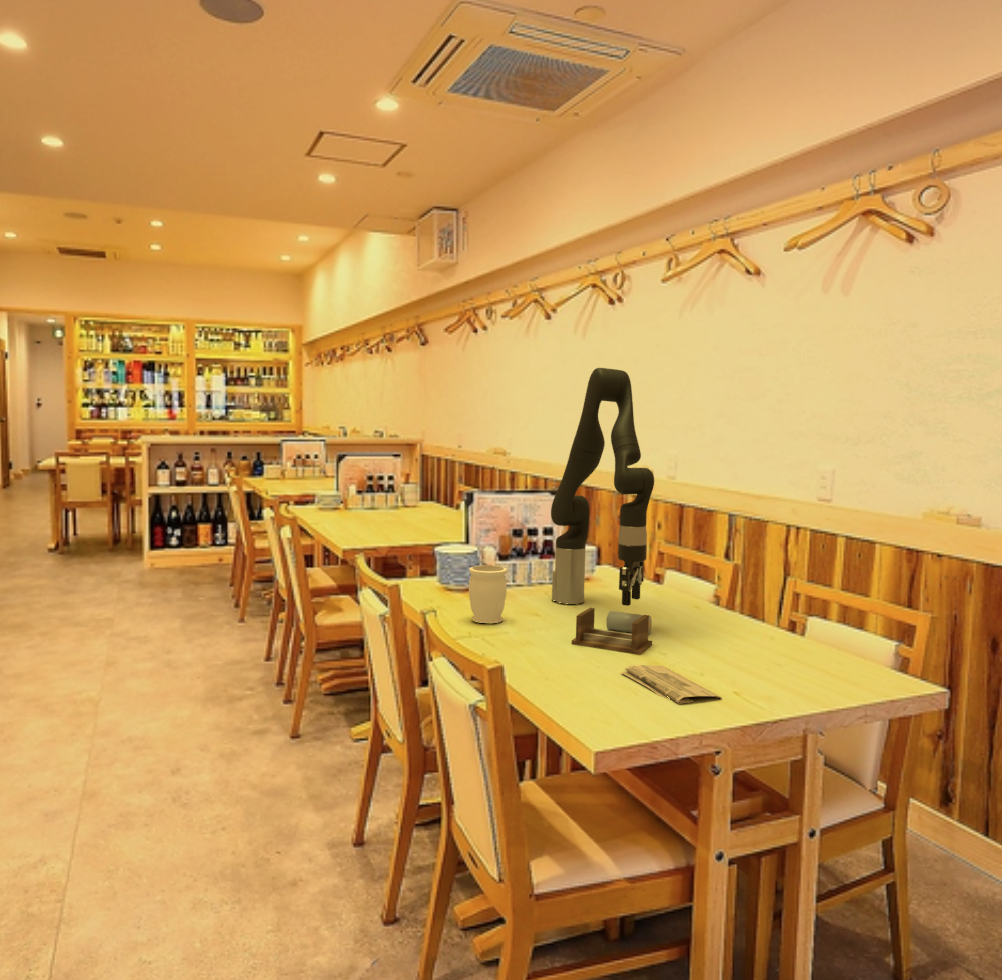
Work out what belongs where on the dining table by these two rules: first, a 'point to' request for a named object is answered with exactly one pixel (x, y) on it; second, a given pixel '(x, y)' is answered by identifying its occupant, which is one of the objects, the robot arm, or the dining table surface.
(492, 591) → the jar
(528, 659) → the dining table surface
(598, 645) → the holder
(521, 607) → the dining table surface
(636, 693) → the dining table surface
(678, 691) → the newspaper
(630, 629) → the cylinder
